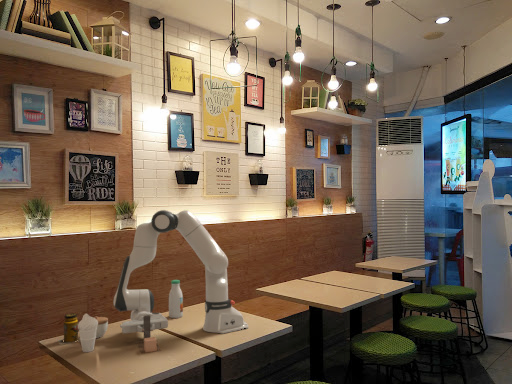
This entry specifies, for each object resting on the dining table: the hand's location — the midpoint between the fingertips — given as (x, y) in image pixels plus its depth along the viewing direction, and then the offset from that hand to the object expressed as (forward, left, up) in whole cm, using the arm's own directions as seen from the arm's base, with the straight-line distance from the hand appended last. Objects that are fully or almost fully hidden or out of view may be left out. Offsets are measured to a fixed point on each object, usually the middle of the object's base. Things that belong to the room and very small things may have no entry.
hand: (147, 329), depth 184 cm
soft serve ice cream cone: (+24, -7, -8) cm, 26 cm away
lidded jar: (+20, -27, -8) cm, 34 cm away
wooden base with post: (0, +3, -8) cm, 8 cm away
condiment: (+32, -25, -8) cm, 41 cm away
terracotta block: (0, +8, -6) cm, 10 cm away
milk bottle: (-22, -45, -8) cm, 50 cm away
